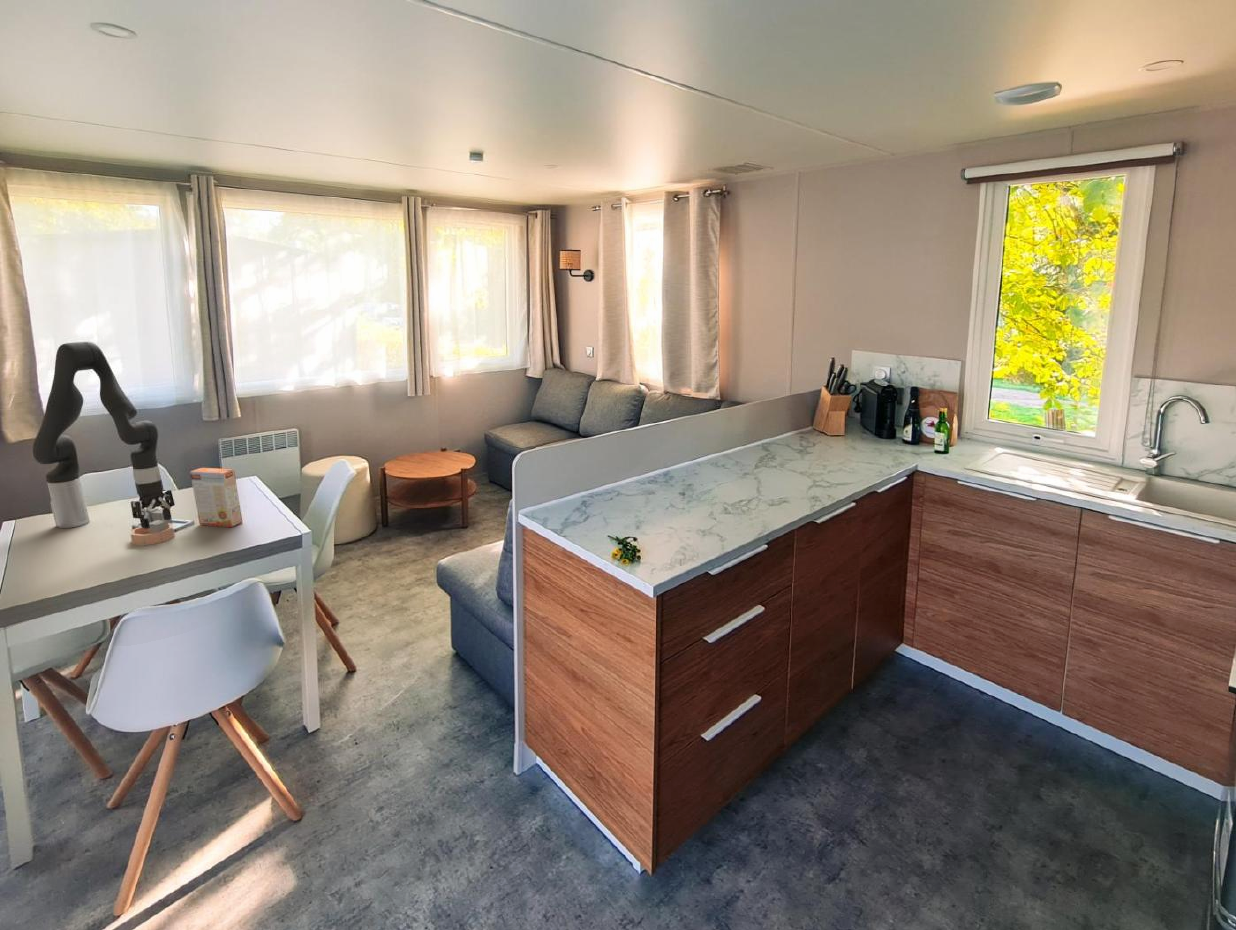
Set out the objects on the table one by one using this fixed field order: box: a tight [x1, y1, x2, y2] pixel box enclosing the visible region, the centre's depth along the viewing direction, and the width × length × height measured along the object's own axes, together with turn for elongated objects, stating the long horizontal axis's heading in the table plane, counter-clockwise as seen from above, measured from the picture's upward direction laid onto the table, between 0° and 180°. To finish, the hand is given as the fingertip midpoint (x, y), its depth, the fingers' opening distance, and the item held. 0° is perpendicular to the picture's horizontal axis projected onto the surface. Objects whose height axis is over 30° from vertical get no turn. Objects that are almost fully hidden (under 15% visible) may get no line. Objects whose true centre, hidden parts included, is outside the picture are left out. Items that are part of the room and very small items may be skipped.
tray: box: [131, 518, 195, 533], centre depth 241 cm, size 18×9×1 cm, turn 78°
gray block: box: [143, 507, 159, 523], centre depth 241 cm, size 4×4×6 cm
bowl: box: [130, 523, 175, 546], centre depth 229 cm, size 12×12×4 cm
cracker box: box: [189, 467, 243, 528], centre depth 241 cm, size 14×6×21 cm, turn 78°
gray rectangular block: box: [151, 508, 173, 524], centre depth 240 cm, size 4×4×6 cm
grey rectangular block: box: [148, 520, 168, 534], centre depth 228 cm, size 4×4×6 cm
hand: (157, 523), depth 228 cm, fingers open, 8 cm apart
